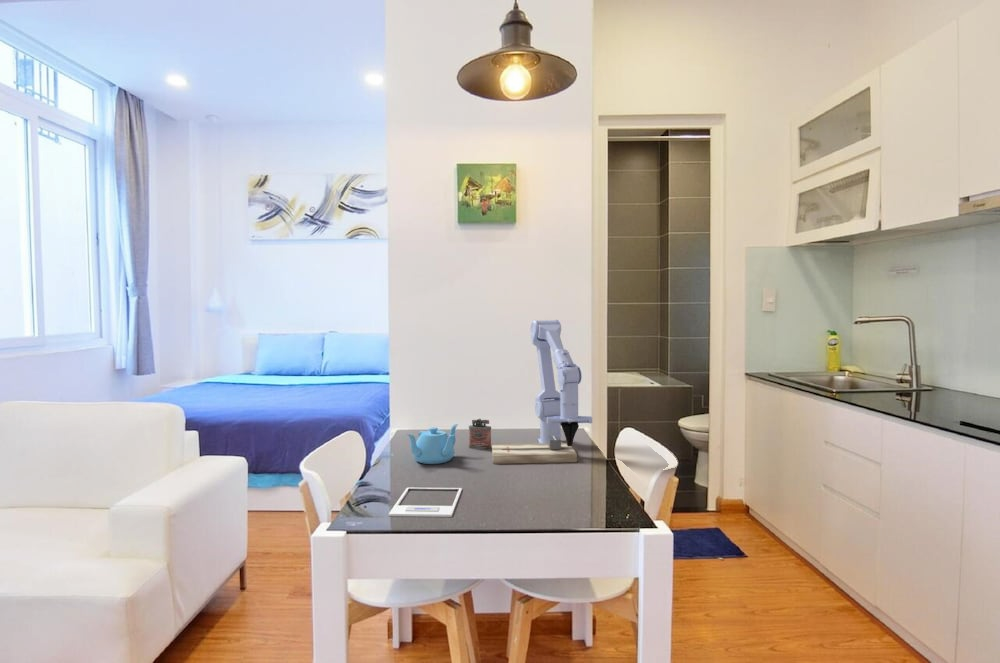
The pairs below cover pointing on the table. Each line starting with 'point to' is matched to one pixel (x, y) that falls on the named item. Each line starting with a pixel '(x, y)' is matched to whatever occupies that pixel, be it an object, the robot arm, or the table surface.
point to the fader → (554, 442)
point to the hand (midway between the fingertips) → (569, 445)
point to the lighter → (480, 435)
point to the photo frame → (424, 507)
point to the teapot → (433, 446)
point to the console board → (532, 453)
